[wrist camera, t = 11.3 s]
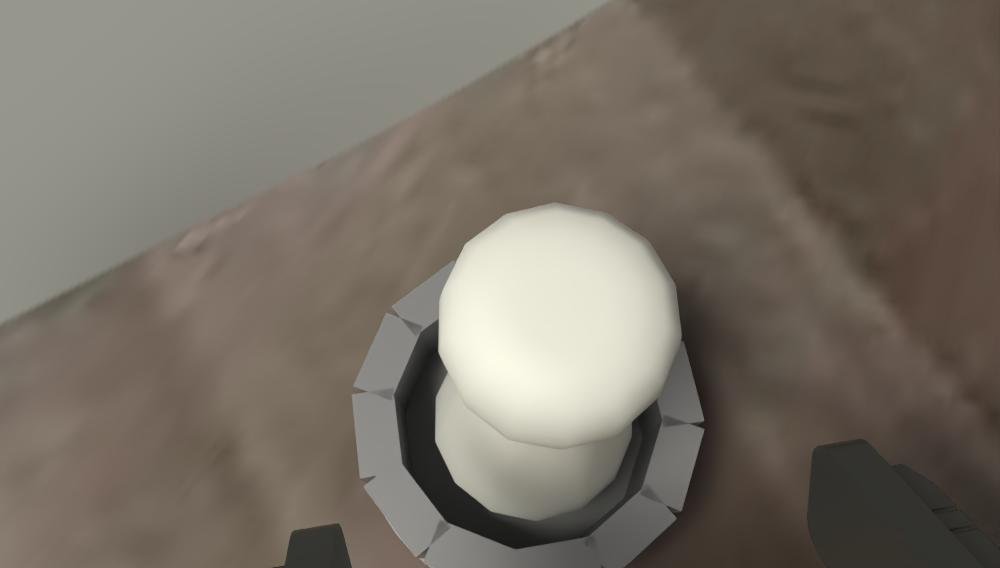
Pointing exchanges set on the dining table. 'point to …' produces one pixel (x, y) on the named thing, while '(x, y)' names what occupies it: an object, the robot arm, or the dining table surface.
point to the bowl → (461, 518)
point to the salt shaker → (550, 357)
